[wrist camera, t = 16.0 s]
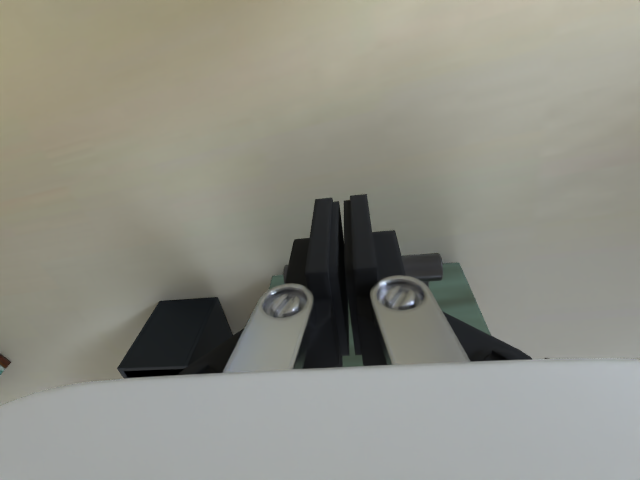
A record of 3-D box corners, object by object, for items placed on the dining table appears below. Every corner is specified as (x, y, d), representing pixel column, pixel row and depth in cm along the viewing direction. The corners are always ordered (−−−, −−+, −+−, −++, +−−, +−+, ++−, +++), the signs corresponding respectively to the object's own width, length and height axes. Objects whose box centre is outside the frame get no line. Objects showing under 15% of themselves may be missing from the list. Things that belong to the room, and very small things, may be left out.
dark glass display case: (159, 300, 29) (116, 368, 24) (217, 297, 28) (187, 365, 23) (192, 363, 33) (162, 433, 28) (243, 361, 33) (223, 432, 27)
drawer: (257, 220, 23) (209, 334, 15) (464, 200, 22) (536, 317, 14) (308, 408, 35) (296, 530, 27) (446, 405, 33) (478, 534, 25)
